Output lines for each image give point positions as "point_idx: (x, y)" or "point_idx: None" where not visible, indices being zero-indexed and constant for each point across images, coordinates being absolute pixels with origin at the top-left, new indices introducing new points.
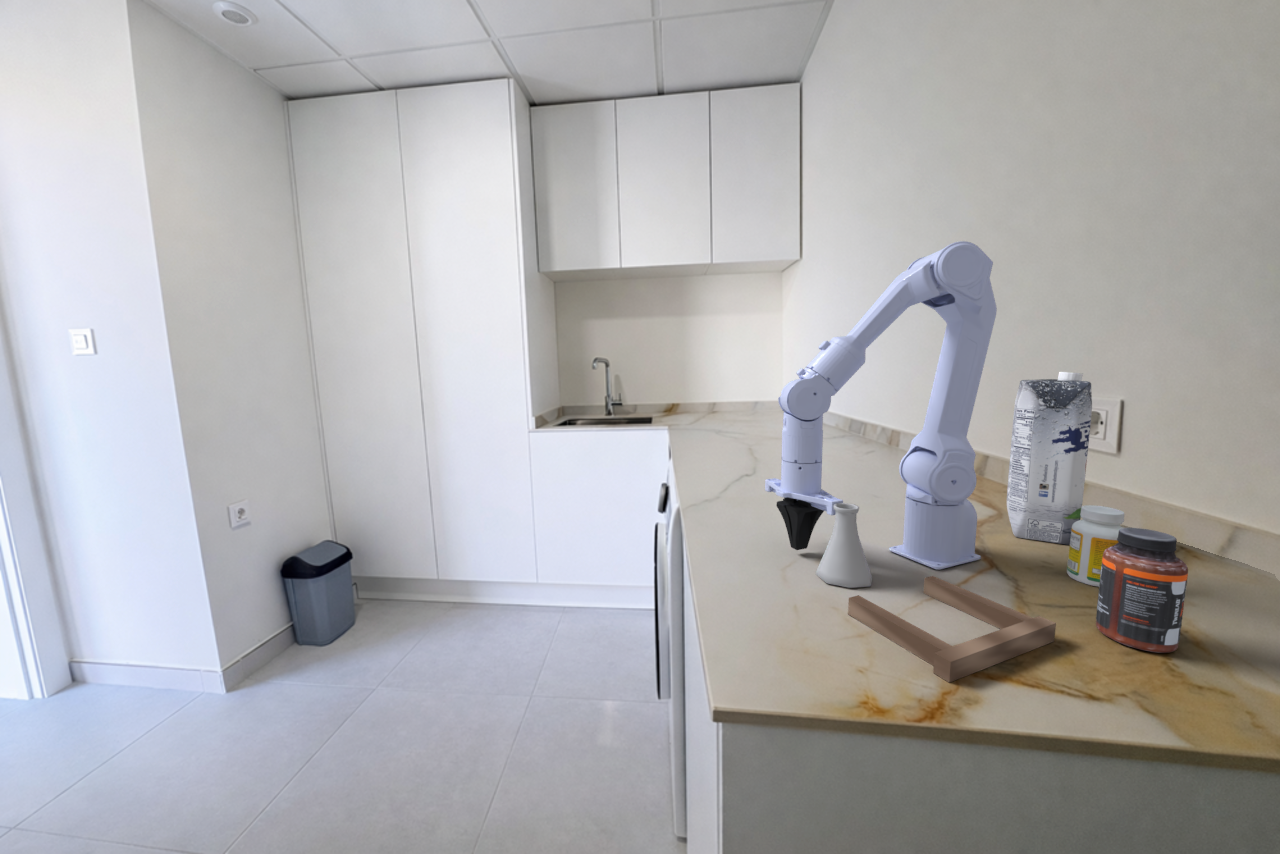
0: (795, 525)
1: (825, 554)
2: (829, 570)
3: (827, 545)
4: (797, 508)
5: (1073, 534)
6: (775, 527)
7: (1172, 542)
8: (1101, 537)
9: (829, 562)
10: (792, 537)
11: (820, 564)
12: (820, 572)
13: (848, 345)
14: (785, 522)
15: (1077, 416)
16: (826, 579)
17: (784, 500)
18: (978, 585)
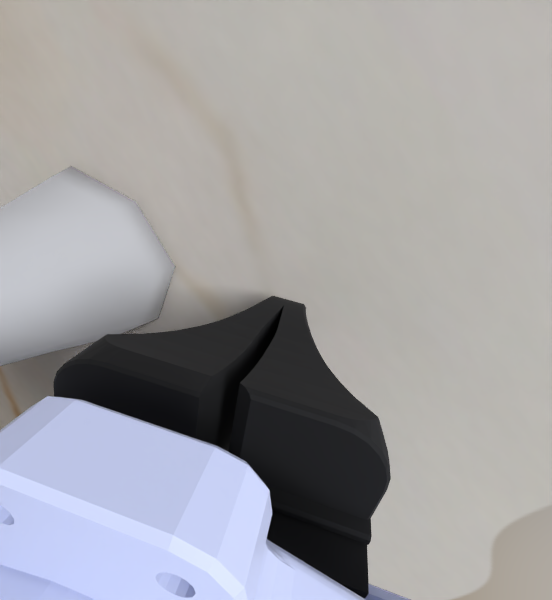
0: (217, 329)
1: (51, 231)
2: (38, 185)
3: (21, 254)
4: (66, 367)
5: None
6: (517, 469)
7: None
8: None
9: (26, 201)
10: (274, 311)
11: (97, 213)
12: (101, 195)
13: None
14: (309, 350)
15: None
16: (65, 171)
17: (349, 519)
18: (3, 416)
